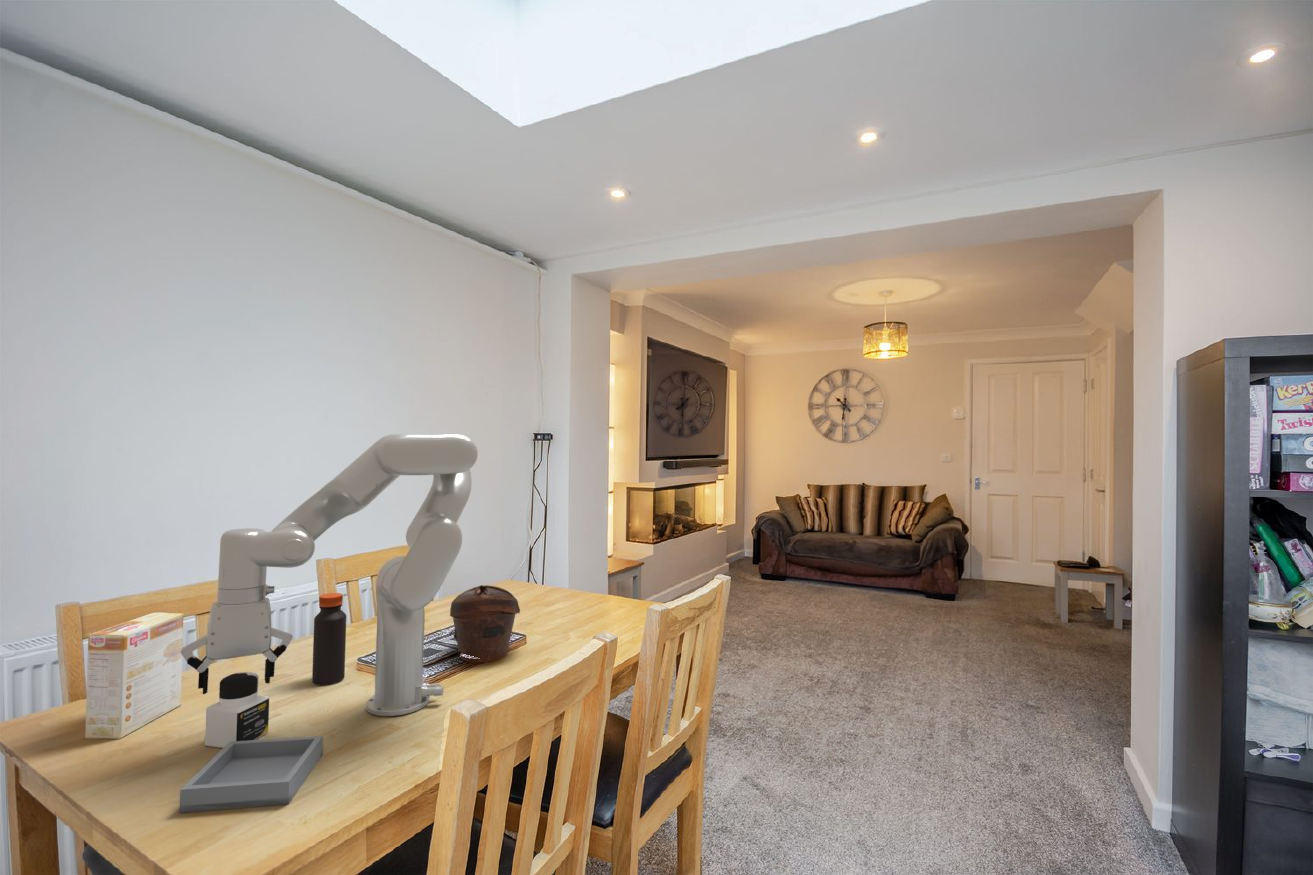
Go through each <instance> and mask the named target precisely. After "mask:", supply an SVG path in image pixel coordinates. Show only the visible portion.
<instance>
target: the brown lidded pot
mask: <svg viewBox="0 0 1313 875" xmlns="http://www.w3.org/2000/svg"><path fill="white" fill-rule="evenodd" d="M520 612H521V609H520V605H519V601H518V599H517V598H516V597H515V596H514V594H513V593H511V592H510V591H509V590H507V589H505V588H502V587H499V586H495V585H489V584H488V585H484V584H483V585H478V586H474V587H472V588H469V589H467V590H465V591H463V592H462V593H460V594H458V595H457V596H456V597H455V598H454V599H453V601H451V604H450V610H449V616H450V617H451V618H452V620H453V628H454V629H453V630H451V631H450V632H449V636H451V635H452V634H453V633H454V634H453V639H455V640H456V644H457V650H459V651H460V652H461V653H463V654H466V655H470V656H474V657H478V658H480V659H469V658H465V657H462V656H461V657H460V656H459V658H460V659H462V661H465V662H469V663H488V662H489V663H490V662H493V661H497V660H500V659H503V658H504V657H505V656H506V655H507V654H508V652H509V648H510V643H511V636H512V632H513V627H514V624H515V619H516V618H515V617H516V615H517V614H520ZM459 651H458V652H459Z"/></svg>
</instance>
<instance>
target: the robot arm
mask: <svg viewBox="0 0 1313 875" xmlns="http://www.w3.org/2000/svg"><path fill="white" fill-rule="evenodd" d="M478 454H479V453H478V446H477V445H476V443H475V442H474V441H473V440H472V439H471V438H470V437H468V436H466V435H463V434H455V433H454V434H452V433H451V434H450V433H449V434H448V433H446V434H406V433H405V434H403V433H399V434H398V433H394V434H392V433H391V434H387V435H384V436H382V437H381V438H379V439H378V440H376V442H374V443H373V444H372V445H371V446H370V447H368V448H367V449H365V451H364V452H363V453H362V454H360V455H359V456H358V457H357V458H356V459H355V460H353V461H352V462H351V463H350V464H349V465H348V466H347V467H346V468H344V469H343V470H342V471H341V472H339V474H337V475H336V476H334V478H332V480H330V481H329V482H327V483H326V484H325V485H324V486H323V487H321V488H320V489H319V490H318V491H317V492H315V493H314V494H313V495H311V496H310V497H309V498H308V499H306V500H305V501H304V502H303V503H301V504H300V505H299V506H298V507H297V508H295V509H294V510H293V511H292V512H291V513H289V514H288V516H286V517H285V518H284V519H282V520H281V521H280V522H279V523H278V524H277V525H276V526H274V528H273V529H272V530H271V531H266V530H264V529H263V528H262V529H261V528H253V527H252V528H249V527H247V528H246V527H245V528H235V529H229V530H227V531H224V532H223V534H222V535H221V537H220V540H219V543H220V544H219V559H218V560H219V561H218V577H217V580H218V581H217V597H216V598H217V599H216V601H215V602H213V603H212V604H211V607H210V609H209V614H208V621H207V626H206V635H204V636H202V637H200V638H198V639H196V640H194V641H192V642H191V643H189V644H187V645H185V646H183V648H182V649H181V654H182V658H184V660H185V661H186V663H187V665H189V666H190V667H192V668H193V669H195V670H196V671H197V673H198V684H197V685H198V686H197V689H202V695H206V694H208V692H209V691H208V688H209V671H210V670H209V669H210V668H209V667H210V665H212V664H213V662H215V661H221V660H227V659H235V658H242V657H249V656H257V655H263V656H264V657H265V658H266V659H265V662H264V664H265V665H264V683H265V684H270V683H271V678H273V677H275V664H276V661H277V660H278V658H279V657H280V656H281V655H282V654H284V652H286V651H287V648H288V646H290V644H291V641H292V640H293V638H294V637H293V634H291V633H290V632H287V631H284V630H280V629H278V628H275V627H273V626H272V610H271V609H272V608H271V601H270V598H268V597H266V596H268V595H270V594H275V585H268V584H267V569H268V568H267V567H269V568H271V567H272V568H284V569H285V568H297V567H300V566H302V565H304V564H306V563H307V562H308V561H310V559H312V557H313V555H314V553H315V549H316V544H315V541H316V540H317V539H318V538H320V536H322V535H323V534H324V533H325V532H327V530H328V529H329V528H331V527H333V526H334V525H335V524H336V523H338V522H339V521H341V520H342V519H345V518H346V517H349V516H351V515H354V514H357V513H358V512H360V511H362V510H363V509H365V508H366V507H368V506H369V505H370V504H371V503H372V502H373V501H374V500H375V499H376V498H378V496H379V495H380V494H381V493H383V492H384V491H385V490H386V489H387V488H388V487H389V486H390V485H391V484H393V483H394V482H395V481H396V480H397V479H398V478H399V477H400V476H433V479H432V485H431V487H430V489H429V491H428V493H427V495H426V496H425V499H424V501H423V502H422V504H421V506H420V508H419V509H418V511H417V512H416V514H415V516H414V517H413V519H412V521H411V522H410V524H409V526H408V527H407V530H406V534H405V541H406V544H407V546H408V547H409V550H408V551H407V553H406V555H405V556H403V555H402V556H395V557H392V558H390V559H389V560H387V561H386V562H385V563H384V564H383V565H382V566H380V568H379V571H378V572H377V576H376V581H375V597H376V613H377V614H376V637H375V639H376V640H375V641H376V643H375V672H374V673H375V674H374V675H375V676H374V694H373V695H372V696H371V697H369V698H368V700H367V701H366V705H365V707H366V711H367V712H368V713H370V714H371V715H374V716H379V717H395V716H396V717H397V716H402V715H403V716H404V715H407V714H411V713H414V712H417V711H419V710H421V709H423V708H424V707H426V706H427V705H428V703H429V702H430V699H431V698H430V696H433V697H439V696H440V697H441V696H443V694H444V686H443V685H442V686H440V682H434V683H429V682H427V677H426V676H424V673H423V672H424V649H425V648H424V644H425V643H424V642H425V623H426V622H425V620H426V619H425V618H426V617H425V614H426V613H425V607H427V606H428V605H429V604H430V603H431V602H432V601H433V600H434V598H435V597H436V596H437V594H438V592H439V590H440V589H441V587H442V586H443V583H444V581H445V580H446V578H447V576H448V574H449V573H450V572H451V569H452V567H453V565H454V563H455V561H456V560H457V557H458V555H459V553H460V551H461V547H462V543H463V533H462V530H461V527H460V526H459V524H458V521H459V519H460V517H461V515H462V514H463V511H464V509H465V507H466V505H467V503H468V501H469V498H470V495H471V491H472V475H471V473H472V472H471V469H472V468H473V467H474V466H475V464H476V462H477V460H478ZM272 638H276V639H280V640H282V641H281V642H280V644H279V645H278V646H277V647H276V648H274V650H273V648H272V647H271V645H272ZM203 646H205V655H204V657H203V658H202V659H200V658H198V657H197V656H196V655H195V654H194V653H193V652H194V651H196V650H197V649H200V648H202V647H203Z"/></svg>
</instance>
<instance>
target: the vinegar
mask: <svg viewBox="0 0 1313 875" xmlns="http://www.w3.org/2000/svg"><path fill="white" fill-rule="evenodd" d="M343 597H344V594H343V593H339V592H330V593H325V594H321V595H319V597H318V598H319V599H318V602H319V603H318V606H319V607H318V608H319V609H320V611H319V612H318V614H316V616H315V617H314V618H313V641H312V642H313V646H312V647H313V648H312V670H311V672H312V674H311V682H312V683H313V685H316V686H329V685H335V684H337V683H340V682H341V681H343V680H344V678H345V677H346V676H345V675H346V672H345V671H346V670H345V669H346V647H347V646H346V640H347V614H346V613H345V612H344V611H343V610H342V607H343V602H344V601H343V599H344V598H343Z"/></svg>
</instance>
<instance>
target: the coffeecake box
mask: <svg viewBox="0 0 1313 875" xmlns="http://www.w3.org/2000/svg"><path fill="white" fill-rule="evenodd" d="M184 615H185V613H179V612H178V613H177V612H176V613H173V612H172V613H170V612H151V613H148V614H146V615H143V616H142V615H141V616H139V617H136V618H134V619H131V620H128V621H125V622H122V623H118V624H116V625H113V626H110V627H107V628H104V629H101V630H99V631H96V632H92V633H89V634H88V635H87V637H88V638H87V639H88V640H87V642H88V643H87V644H88V646H87V666H86V667H87V668H86V670H87V672H86V674H87V675H86V699H85V700H86V703H85V704H86V706H85V707H86V709H85V732H84V733H85V734H84V735H85V736H84V738H85V739H116V740H120V739H122V738H124V737H125V736H127V735H129V734H130V733H133V732H134V731H136V730H138V729H140V728H142V727H143V726H146V725H147V724H149V723H151V722H152V721H154V720H157V719H159V718H161V717H162V716H163V715H166V714H167V713H169V712H171V711H172V710H175V709H176V708H178V707H180V706H181V705H182V674H183V655H182V654H181V649H182V648H183V647H184V646H183V642H184V639H183V638H184Z"/></svg>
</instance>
